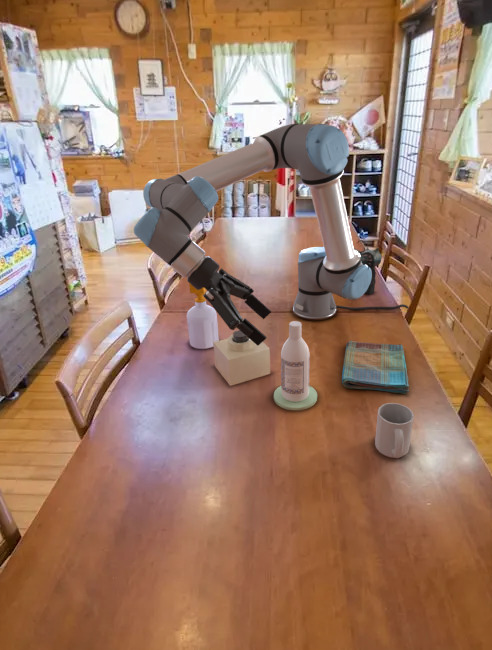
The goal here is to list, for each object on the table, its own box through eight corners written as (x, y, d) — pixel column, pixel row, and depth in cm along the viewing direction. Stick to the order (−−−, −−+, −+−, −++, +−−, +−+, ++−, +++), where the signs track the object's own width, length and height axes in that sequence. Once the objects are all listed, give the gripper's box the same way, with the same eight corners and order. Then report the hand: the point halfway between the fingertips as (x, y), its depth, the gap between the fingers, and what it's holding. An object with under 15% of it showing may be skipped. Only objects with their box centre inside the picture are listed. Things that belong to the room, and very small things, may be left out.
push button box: (253, 356, 134) (252, 325, 129) (270, 373, 125) (269, 341, 121) (215, 366, 129) (212, 335, 124) (230, 385, 120) (227, 353, 116)
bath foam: (292, 383, 119) (292, 314, 110) (314, 393, 115) (316, 322, 106) (275, 395, 114) (274, 324, 106) (297, 406, 110) (297, 333, 101)
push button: (244, 335, 125) (244, 328, 124) (250, 341, 122) (250, 334, 121) (231, 338, 123) (230, 332, 123) (236, 345, 120) (236, 338, 119)
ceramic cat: (379, 292, 176) (384, 242, 168) (370, 297, 172) (374, 246, 163) (338, 280, 189) (340, 233, 180) (328, 284, 184) (330, 236, 176)
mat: (309, 382, 121) (310, 379, 120) (322, 406, 111) (323, 404, 111) (269, 388, 119) (269, 385, 118) (279, 413, 109) (279, 410, 109)
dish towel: (340, 388, 118) (341, 380, 117) (345, 345, 139) (346, 338, 138) (408, 395, 115) (410, 386, 114) (403, 349, 136) (404, 342, 134)
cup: (405, 436, 101) (409, 403, 97) (415, 468, 92) (420, 434, 88) (372, 435, 101) (375, 402, 97) (379, 468, 92) (383, 433, 88)
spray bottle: (221, 336, 145) (216, 263, 135) (215, 350, 137) (208, 273, 127) (194, 335, 146) (186, 262, 136) (186, 349, 138) (177, 273, 128)
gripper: (198, 260, 114) (259, 315, 120) (170, 299, 92) (247, 364, 97) (217, 239, 111) (279, 296, 117) (194, 275, 89) (271, 343, 94)
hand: (265, 327), depth 107 cm, fingers open, 13 cm apart
